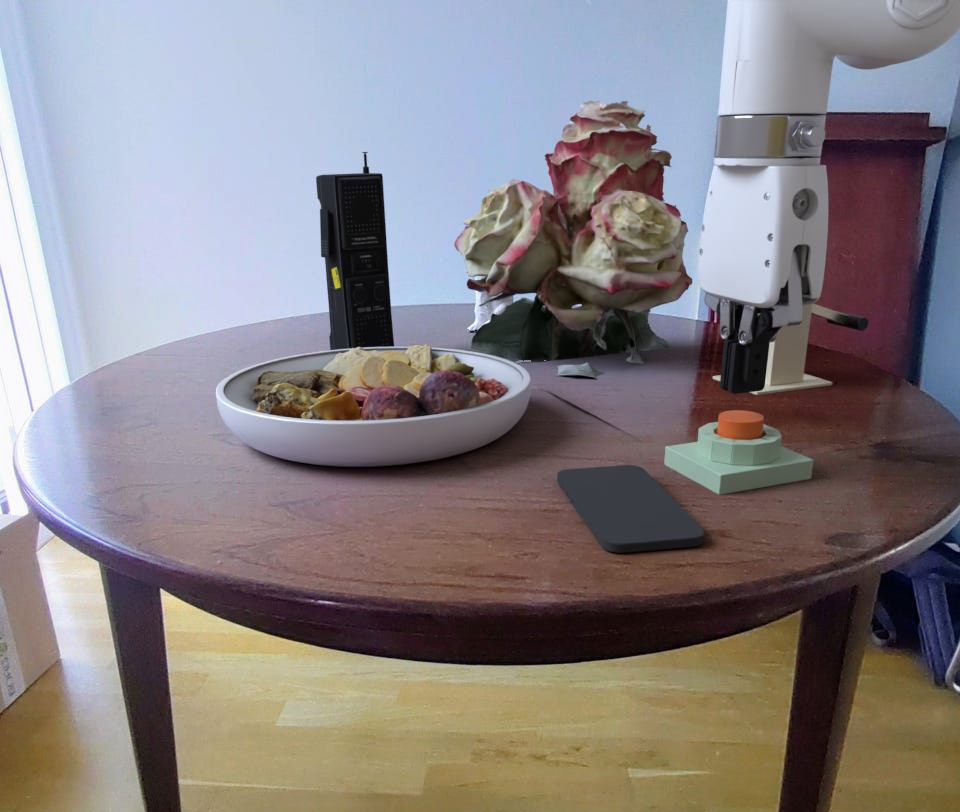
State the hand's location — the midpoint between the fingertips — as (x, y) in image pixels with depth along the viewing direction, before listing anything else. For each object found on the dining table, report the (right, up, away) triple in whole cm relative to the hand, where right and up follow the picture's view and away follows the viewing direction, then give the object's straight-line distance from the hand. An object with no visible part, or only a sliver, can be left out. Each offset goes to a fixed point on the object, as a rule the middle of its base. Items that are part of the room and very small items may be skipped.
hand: (741, 389), depth 73 cm
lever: (+15, +12, +26) cm, 32 cm away
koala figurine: (-20, +18, +62) cm, 68 cm away
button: (0, -4, +1) cm, 4 cm away
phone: (-10, -10, -5) cm, 15 cm away
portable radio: (-37, +10, +44) cm, 58 cm away
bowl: (-31, -2, +16) cm, 35 cm away
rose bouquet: (-8, +10, +41) cm, 43 cm away
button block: (0, -7, +3) cm, 7 cm away
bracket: (+11, +4, +27) cm, 30 cm away
